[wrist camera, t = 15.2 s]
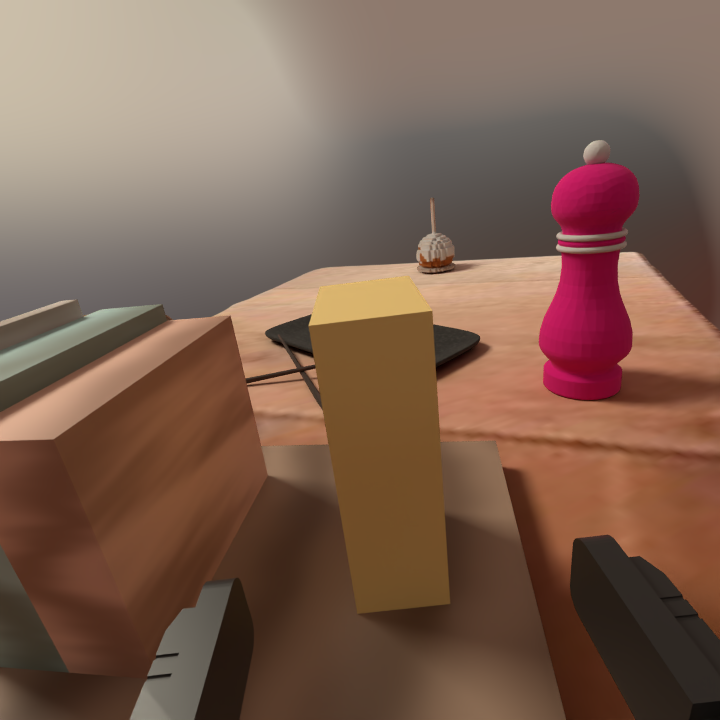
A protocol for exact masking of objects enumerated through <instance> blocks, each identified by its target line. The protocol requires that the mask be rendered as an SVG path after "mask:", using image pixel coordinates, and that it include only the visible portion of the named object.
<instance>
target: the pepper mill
mask: <svg viewBox="0 0 720 720" xmlns="http://www.w3.org/2000/svg"><path fill="white" fill-rule="evenodd" d="M609 155H610V147H609V144H607V143H606V142H605V141H601V140H597V141H594V142H592V143H590V144H589V145H588V146H587V147H586V149H585V151H584V161H585V162H586V164H588V165H585V166H582V167H579V168H577V169H575V170H573V171H571V172H569V173H568V174H566V175H565V176H564V177H563V178H562V179H561V180H560V182H559V183H558V185H557V186H556V188H555V190H554V193H553V196H552V203H551V208H552V214H553V217H554V218H555V220H556V221H557V222H558V223H559V224H560V226H561V228H562V232H560V233H558V234H557V238H558V239H559V240H558V245H557V246H556V249H557V250H558V251H560V252H561V253H562V269H561V276H560V282H559V285H558V288H557V291H556V294H555V296H554V298H553V301H552V303H551V305H550V307H549V309H548V311H547V312H546V314H545V316H544V319H543V322H542V325H541V329H540V335H539V346H540V348H541V350H542V352H543V353H544V354H545V355H546V357H547V358H548V359H549V360H548V361H547V362H546V363H545V365H544V376H543V383H544V385H545V387H546V388H547V389H548V390H550V391H551V392H553V393H555V394H557V395H560V396H563V397H567V398H571V399H580V400H598V399H604V398H608V397H611V396H613V395H615V394H616V393H618V391H619V390H620V388H621V379H622V369H621V367H620V366H619V365H618V364H617V363H618V362H620V361H621V360H622V359H623V358H625V357H626V356H627V355H628V354H629V352H630V350H631V348H632V327H631V323H630V319H629V316H628V314H627V311H626V309H625V306H624V304H623V301H622V298H621V295H620V291H619V285H618V260H619V254H620V249H622V248H624V247H625V246H626V245H627V243H626V241H625V239H626V237H625V235H626V234H627V233H628V231H627V229H625V228H622V226H623V224H624V222H625V221H626V220H627V219H628V218H629V217H630V216H631V214H633V212H634V211H635V209H636V207H637V205H638V200H639V185H638V182H637V178H636V177H635V175H634V174H633V173H632V172H631V171H630V170H629V169H627V168H626V167H624V166H622V165H618V164H614V163H605V161H606V160H607V159H608V158H609Z"/></svg>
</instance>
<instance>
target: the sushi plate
mask: <svg viewBox="0 0 720 720" xmlns="http://www.w3.org/2000/svg"><path fill="white" fill-rule="evenodd" d="M311 316H312V314H311V315H308V316H305V317H302V318H299V319H296V320H293V321H290V322H287V323H284V324H281V325H278V326H275V327H273V328H271V329H269V330H267V331H266V332H265V335H266V336H267V337H268V338H270V339H272V340H275V341H277V342H280V343H282V344H283V345H284V347H285V349H286V350H287V352H288V354H289V355H290V357H291V359H292V360H293V362H294V363H295V365H296V367H297V368H296V369H291V370H286V371H281V372H276V373H271V374H266V375H261V376H256V377H251V378H246V384H247V383H251V382H256V381H260V380H265V379H269V378H274V377H278V376H283V375H287V374H292V373H296V372H300V374H301V375H302V377H303V379H304V381H305V382H306V384H307V386H308V387H309V389H310V391H311V393H312V394H313V396H314V398H315V399H316V401H317V402H318V404H319V405H320V407H321V408H322V402H321V396H320V394H319V392H318V391H317V389H316V388H315V386H314V385H313V383H312V382H311V380H310V379H309V378H308V376H307V375H306V373H305V372H304V371H306V370H310V369H315V368H316V367H315V365H311V366H306V367H301V366H300V364H299V363H298V361H297V360H296V358H295V357H294V355H293V354H292V352H291V351H290V349H289V348H288V346H287V345H290V346H293V347H296V348H299V349H302V350H305V351H308V352H311V353H313V349H312V343H311V338H310V332H309V322H310V319H311ZM433 331H434V348H435V364H436V367H437V366H439V365H441V364H443V363H445V362H447V361H449V360H451V359H453V358H455V357H456V356H458V355H460V354H462V353H464V352H466V351H467V350H469V349H471V348H472V347H474V346H475V345H477V344H478V342H479V341H480V336H479V335H477V334H475V333H472V332H469V331H465V330H460V329H455V328H450V327H444V326H439V325H433ZM322 410H323V408H322Z"/></svg>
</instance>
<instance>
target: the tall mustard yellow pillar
mask: <svg viewBox="0 0 720 720" xmlns="http://www.w3.org/2000/svg"><path fill="white" fill-rule="evenodd" d="M309 332H310V338H311V343H312V349H313V355H314V361H315V367H316V373H317V379H318V385H319V391H320V396H321V402H322V408H323V414H324V420H325V426H326V432H327V438H328V444H329V450H330V455H331V461H332V467H333V473H334V479H335V485H336V491H337V497H338V503H339V508H340V514H341V520H342V526H343V532H344V538H345V544H346V550H347V556H348V561H349V567H350V573H351V579H352V585H353V591H354V597H355V603H356V609H357V614H360V613H370V612H379V611H389V610H398V609H408V608H417V607H426V606H436V605H445V604H450V592H449V576H448V559H447V543H446V527H445V510H444V494H443V478H442V462H441V445H440V429H439V413H438V396H437V380H436V364H435V348H434V331H433V315H432V310H431V308H430V307H429V305H428V304H427V302H426V301H425V299H424V298H423V296H422V295H421V293H420V292H419V290H418V289H417V287H416V286H415V284H414V283H413V281H412V280H411V278H410V277H409V276H403V277H395V278H386V279H378V280H370V281H362V282H354V283H346V284H338V285H330V286H322V287H320V289H319V292H318V295H317V299H316V302H315V306H314V309H313V312H312V316H311V319H310V322H309Z"/></svg>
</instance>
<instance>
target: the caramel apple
mask: <svg viewBox="0 0 720 720" xmlns="http://www.w3.org/2000/svg"><path fill="white" fill-rule="evenodd" d="M430 204H431V221H432V234H429V235H427V237H424V238H423V240H421V241H420V244H419V245H418V250H417V255H416V256H417V260H418V261H419V265H420V266H418V267H417V270H418V271H421V272H426V273H439V272H444V271H447V270H450V269H453V268H454V267H455V264H453V263H452V258H453V257H454V246H453V245H452V241H451V240H449V238H446V236H445V235H442V233H436V225H435V207H434V198H430Z"/></svg>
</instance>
